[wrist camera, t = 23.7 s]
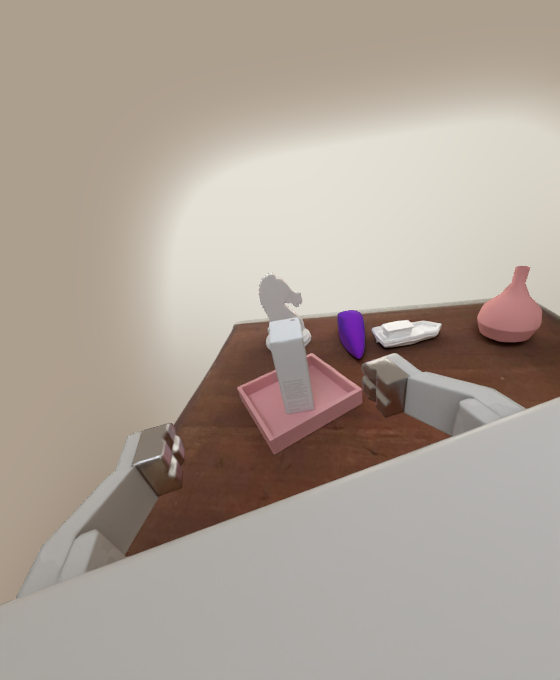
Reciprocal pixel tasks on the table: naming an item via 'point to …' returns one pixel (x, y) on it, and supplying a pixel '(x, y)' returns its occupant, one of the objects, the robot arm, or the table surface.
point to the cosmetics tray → (286, 429)
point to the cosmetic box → (291, 365)
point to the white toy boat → (405, 332)
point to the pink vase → (511, 312)
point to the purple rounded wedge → (352, 332)
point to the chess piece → (280, 303)
